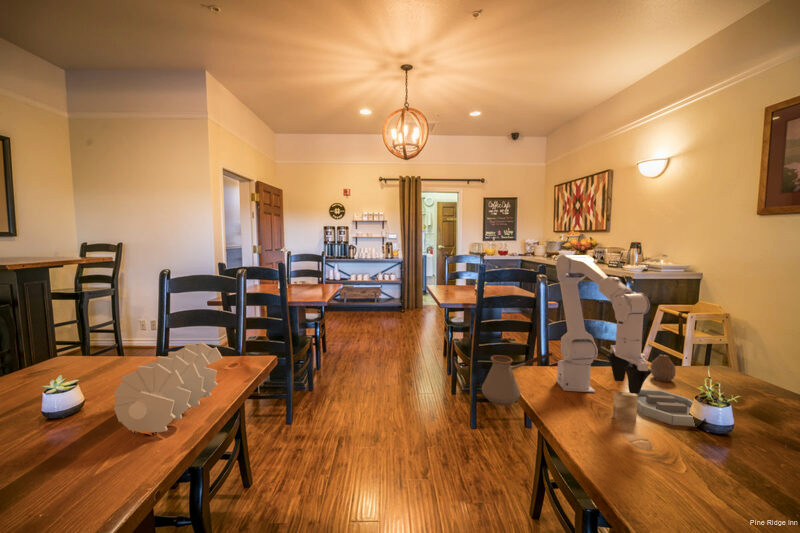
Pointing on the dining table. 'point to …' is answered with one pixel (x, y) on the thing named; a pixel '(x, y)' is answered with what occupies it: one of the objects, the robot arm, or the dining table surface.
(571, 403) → the dining table surface
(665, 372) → the vase
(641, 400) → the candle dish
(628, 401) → the pine wood chunk
